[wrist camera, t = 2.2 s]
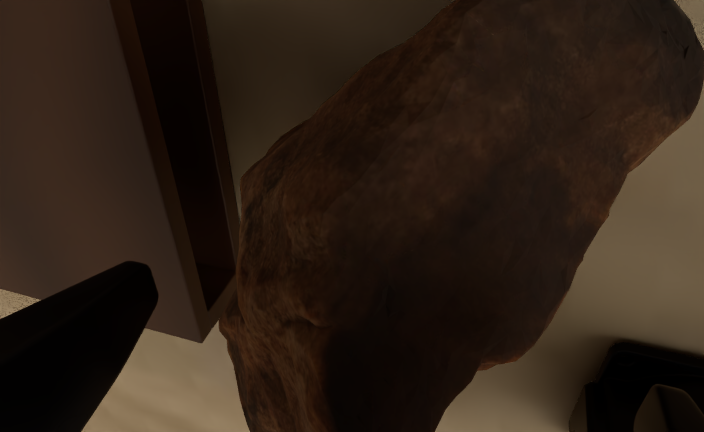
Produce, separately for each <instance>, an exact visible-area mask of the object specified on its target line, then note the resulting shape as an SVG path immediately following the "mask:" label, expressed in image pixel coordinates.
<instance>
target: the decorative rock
mask: <svg viewBox="0 0 704 432" xmlns="http://www.w3.org/2000/svg"><path fill="white" fill-rule="evenodd" d="M703 81H704V50H703V48H702V46H701V44H700V42H699V40H698V38H697V36H696V34H695V31H694V29H693V26H692V23H691V21H690V19H689V18H688V17H687V16H686V14H685V13H684V12H683V11H682V10H681V8H680V7H679V6H678V5H677V4H676V2H675V1H674V0H456V1H454V2H453V3H451V4H450V5H448V6H446V7H445V8H443V9H442V10H441V11H440V12H439V13H438V14H437V15H436V16H435V17H434V18H433V19H432V20H431V21H430V22H429V23H428V25H427V26H425V27H424V28H423V29H421V30H420V31H419V32H418V33H416V34H415V35H414V36H412V37H411V38H410V39H408V40H407V41H406V42H405V43H403V44H401V45H399V46H397V47H395V48H393V49H390V50H388V51H386V52H384V53H382V54H380V55H379V56H377V57H376V58H375V59H373V60H372V61H371V62H369V63H368V64H367V65H365V66H364V67H363V68H361V69H360V70H359V71H357V72H356V73H355V74H354V75H353V76H352V77H351V78H350V79H349V80H348V81H347V82H346V83H345V84H344V85H343V86H342V87H341V89H340V90H339V91H338V92H337V93H336V94H334V95H333V96H332V97H331V98H329V99H328V100H327V101H325V102H324V103H323V104H322V106H321V107H320V108H319V109H318V110H317V111H316V112H315V113H314V114H313V116H312V117H311V118H310V119H309V120H306V121H304V122H303V123H301V124H299V125H298V126H296V127H295V128H293V129H292V130H290V131H289V132H287V133H286V134H284V135H283V136H281V137H280V138H279V139H278V140H277V141H276V142H275V143H274V144H273V145H272V146H271V148H270V149H269V150H268V152H267V154H266V155H265V156H264V157H263V158H262V159H260V160H259V161H258V162H256V163H255V164H254V165H253V166H252V167H251V168H250V169H249V170H248V171H247V172H246V173H245V174H244V175H243V176H242V178H241V179H240V190H241V200H242V214H241V222H240V230H239V252H238V259H237V265H236V279H237V288H236V290H235V292H234V293H233V295H232V296H231V298H230V300H229V301H228V303H227V305H226V307H225V309H224V311H223V313H222V315H221V317H220V319H219V331H220V332H221V333H222V335H223V336H224V337H225V338H226V339H227V348H228V353H229V355H230V358H231V360H232V363H233V365H234V370H235V374H236V380H237V386H238V391H239V397H240V401H241V405H242V408H243V412H244V415H245V419H246V422H247V425H248V428H249V430H250V432H435V430H436V428H437V426H438V424H439V422H440V420H441V418H442V416H443V413H444V411H445V410H446V408H447V407H448V406H449V405H450V403H451V402H452V401H453V400H454V398H455V397H456V396H457V395H458V394H459V393H460V392H462V391H463V390H464V389H465V388H466V386H467V385H468V384H469V383H470V382H471V381H472V379H473V377H474V376H475V374H476V372H477V371H479V370H487V369H489V368H491V367H493V366H495V365H497V364H505V363H510V362H515V361H517V360H518V359H519V358H520V357H521V356H522V355H524V354H525V353H526V352H527V351H528V350H529V349H530V348H532V347H533V346H534V345H535V343H536V342H537V340H538V339H539V338H540V336H541V335H542V333H543V332H544V331H545V329H546V328H547V327H548V325H549V324H550V322H551V321H552V319H553V317H554V315H555V314H556V312H557V310H558V308H559V307H560V305H561V303H562V301H563V299H564V298H565V296H566V294H567V292H568V291H569V289H570V286H571V283H572V281H573V278H574V275H575V273H576V270H577V267H578V266H579V265H580V263H581V262H582V261H583V257H584V254H585V252H586V250H587V249H588V247H589V245H590V244H591V242H592V240H593V239H594V237H595V235H596V233H597V232H598V230H599V228H600V227H601V226H602V224H603V223H604V222H605V220H606V219H607V218H608V216H609V210H610V207H611V206H612V204H613V202H614V200H615V198H616V197H617V195H618V193H619V191H620V189H621V187H622V185H623V183H624V181H625V178H626V176H627V174H628V173H629V172H630V171H632V170H633V169H634V168H636V167H637V166H638V165H640V164H641V163H642V162H643V161H644V160H645V159H646V158H647V157H648V156H649V155H650V154H651V153H652V152H653V151H654V150H655V149H656V148H657V147H658V146H659V145H660V144H661V143H662V142H663V141H664V140H665V139H666V138H667V137H668V136H670V135H671V134H672V133H673V132H675V131H676V130H677V129H678V128H679V127H680V126H682V125H683V124H684V123H685V122H686V121H688V120H689V119H690V117H691V115H692V113H693V112H694V110H695V108H696V106H697V104H698V101H699V99H700V95H701V91H702V86H703Z"/></svg>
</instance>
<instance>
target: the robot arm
mask: <svg viewBox="0 0 704 432" xmlns="http://www.w3.org/2000/svg"><path fill="white" fill-rule="evenodd" d="M158 298H159V294H158V290H157V287H156V284H155V281H154V278H153V274H152V271H151V269H150V267H149V266H148V265H147V264H144V263H140V262H136V261H125V262H123V263H120V264H118V265H116V266H114V267H112V268H110V269H107V270H105V271H103V272H101V273H99V274H97V275H95V276H92V277H90V278H88V279H86V280H84V281H82V282H79V283H77V284H75V285H73V286H71V287H69V288H67V289H64V290H62V291H60V292H58V293H56V294H54V295H51V296H49V297H47V298H45V299H43V300H41V301H39V302H36V303H34V304H32V305H30V306H28V307H26V308H23V309H21V310H19V311H17V312H15V313H13V314H10V315H8V316H6V317H4V318H2V319H0V432H81V431H82V430H83V428H84V427H85V425H86V424H87V422H88V421H89V419H90V418H91V416H92V415H93V413H94V412H95V410H96V409H97V407H98V406H99V404H100V403H101V401H102V400H103V398H104V397H105V395H106V394H107V392H108V391H109V389H110V388H111V386H112V385H113V383H114V382H115V380H116V379H117V377H118V375H119V374H120V372H121V371H122V369H123V367H124V365H125V364H126V362H127V360H128V358H129V356H130V354H131V353H132V351H133V349H134V347H135V345H136V343H137V341H138V340H139V338H140V336H141V334H142V332H143V330H144V328H145V326H146V325H147V323H148V321H149V319H150V317H151V315H152V313H153V312H154V310H155V308H156V306H157V303H158ZM623 356H627V357H623ZM569 432H704V359H699V358H695V357H690V356H686V355H681V354H676V353H672V352H667V351H663V350H658V349H654V348H649V347H645V346H640V345H636V344H631V343H624V342H621V343H616V344H614V345H612V346H611V347H610V348H609V350H608V352H607V355H606V357H605V359H604V361H603V363H602V365H601V368H600V370H599V372H598V374H597V376H596V378H595V381H594V382H591V381H590V382H589V383H587V384H586V385H584V387H583V390H582V392H581V394H580V396H579V398H578V401H577V403H576V405H575V407H574V410H573V412H572V414H571V416H570V419H569Z"/></svg>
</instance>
